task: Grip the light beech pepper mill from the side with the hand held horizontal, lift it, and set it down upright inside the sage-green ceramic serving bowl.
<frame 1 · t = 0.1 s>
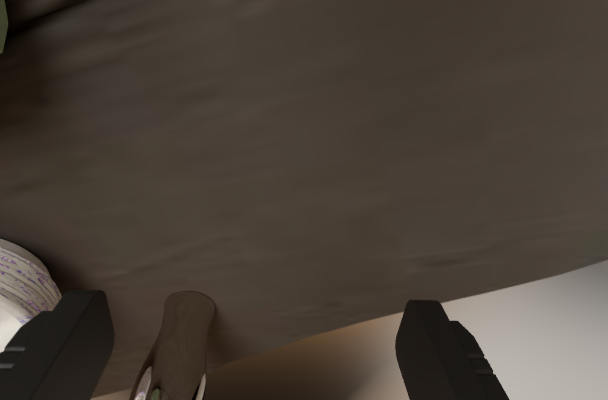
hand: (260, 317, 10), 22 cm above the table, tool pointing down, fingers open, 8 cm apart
paper bowls: (1, 264, 39), on the table
beer glass: (190, 305, 45), on the table
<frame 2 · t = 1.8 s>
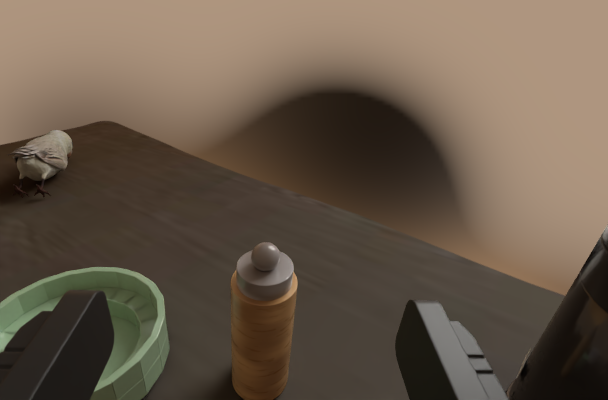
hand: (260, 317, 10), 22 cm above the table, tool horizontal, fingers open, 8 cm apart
serving bowl: (84, 365, 31), on the table
decorative bird: (52, 178, 59), on the table
pepper mill: (260, 376, 32), on the table
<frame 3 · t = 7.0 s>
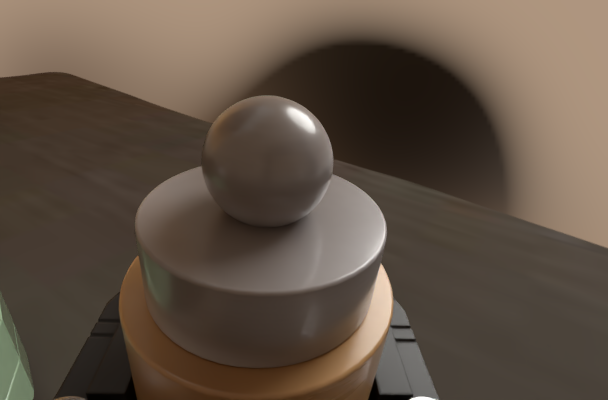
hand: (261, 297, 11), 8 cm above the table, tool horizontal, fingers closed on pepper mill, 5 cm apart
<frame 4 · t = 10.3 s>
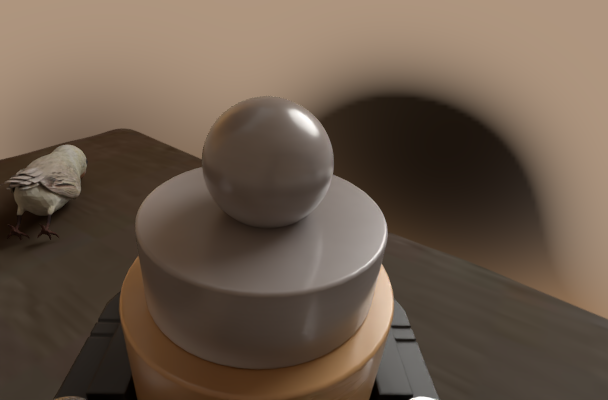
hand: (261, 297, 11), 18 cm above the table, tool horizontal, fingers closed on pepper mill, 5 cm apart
decorative bird: (60, 208, 45), on the table
when the fingers open (9 cm above the table, at t = 14.1 s): pepper mill stays where it is, resting on serving bowl.
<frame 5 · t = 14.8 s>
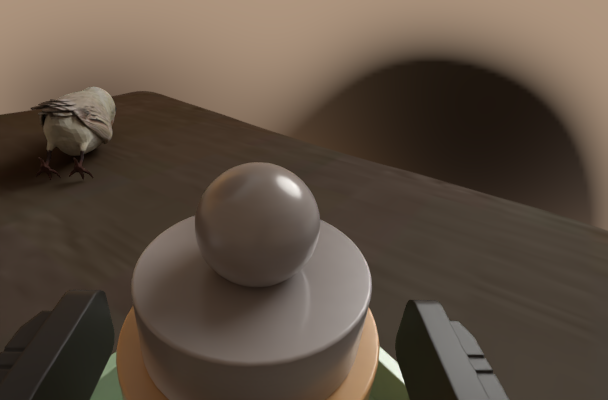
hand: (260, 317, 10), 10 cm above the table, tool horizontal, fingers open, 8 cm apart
decorative bird: (89, 154, 41), on the table
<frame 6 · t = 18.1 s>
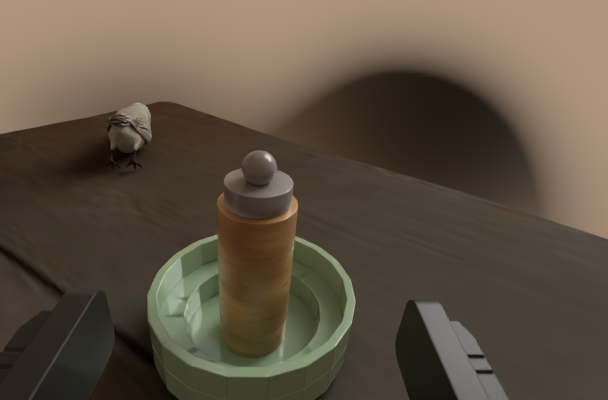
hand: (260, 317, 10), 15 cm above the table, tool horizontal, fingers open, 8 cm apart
serving bowl: (253, 336, 28), on the table
decorative bird: (134, 152, 55), on the table
pepper mill: (253, 330, 27), point 1 cm above the table, touching serving bowl
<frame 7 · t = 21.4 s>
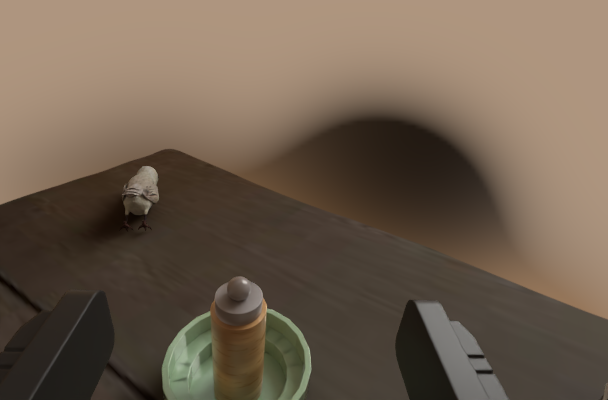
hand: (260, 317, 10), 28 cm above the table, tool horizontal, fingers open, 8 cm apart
serving bowl: (238, 390, 37), on the table
decorative bird: (144, 210, 65), on the table
pepper mill: (238, 386, 37), point 1 cm above the table, touching serving bowl
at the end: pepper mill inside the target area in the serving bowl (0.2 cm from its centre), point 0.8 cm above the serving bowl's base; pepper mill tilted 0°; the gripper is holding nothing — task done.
